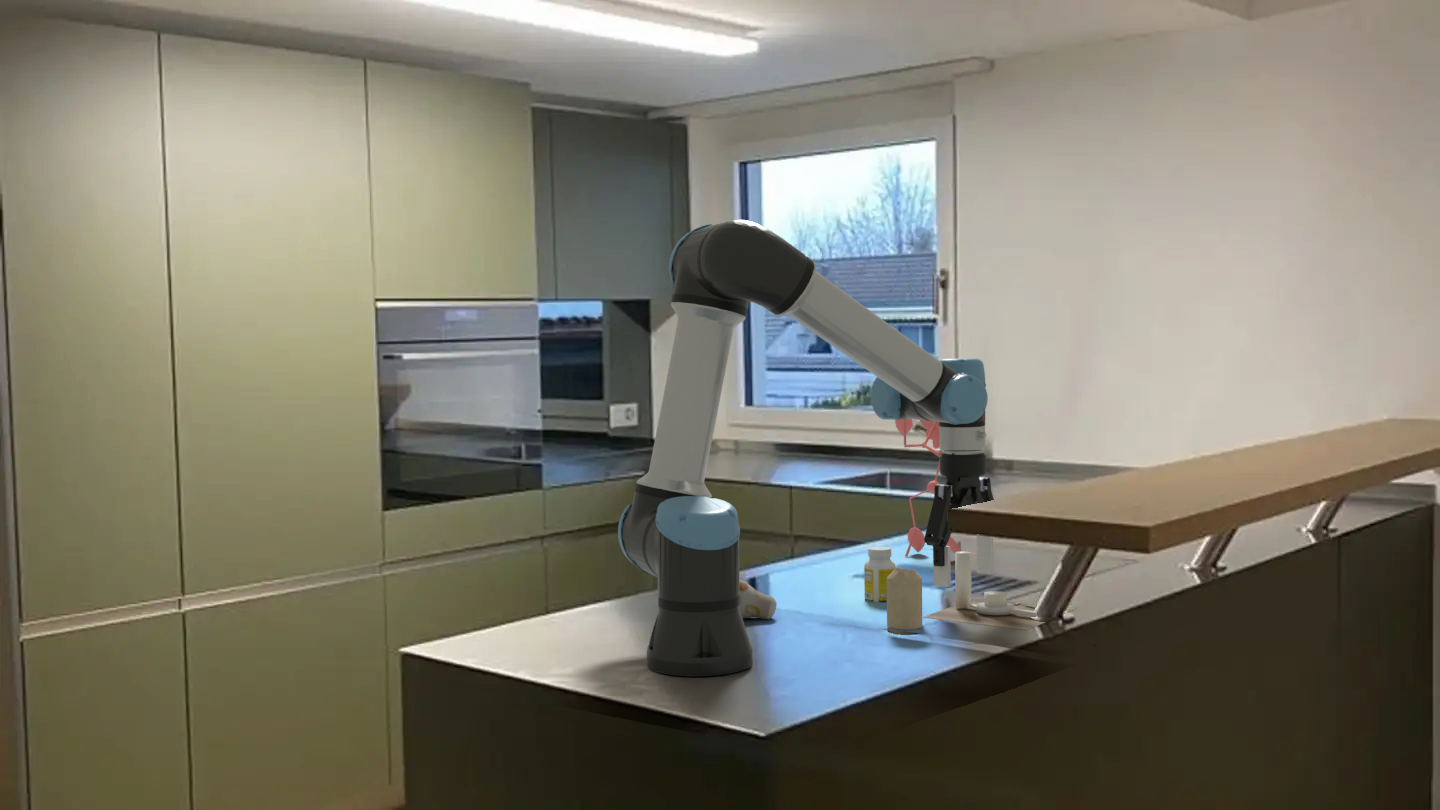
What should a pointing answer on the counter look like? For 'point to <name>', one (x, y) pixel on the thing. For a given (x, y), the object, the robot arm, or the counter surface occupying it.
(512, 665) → the counter surface
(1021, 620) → the board
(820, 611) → the counter surface
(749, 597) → the mug
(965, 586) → the handle
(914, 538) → the figurine
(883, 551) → the supplement bottle
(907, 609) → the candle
